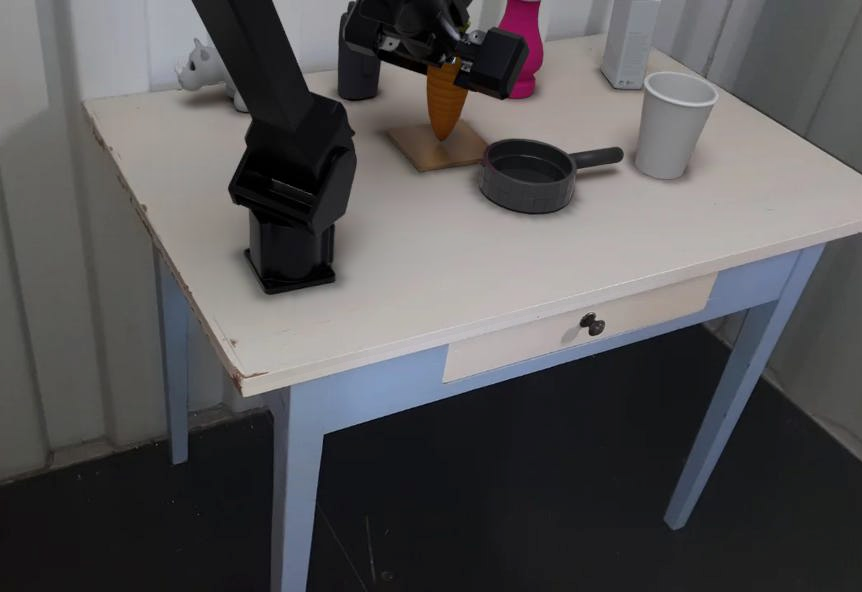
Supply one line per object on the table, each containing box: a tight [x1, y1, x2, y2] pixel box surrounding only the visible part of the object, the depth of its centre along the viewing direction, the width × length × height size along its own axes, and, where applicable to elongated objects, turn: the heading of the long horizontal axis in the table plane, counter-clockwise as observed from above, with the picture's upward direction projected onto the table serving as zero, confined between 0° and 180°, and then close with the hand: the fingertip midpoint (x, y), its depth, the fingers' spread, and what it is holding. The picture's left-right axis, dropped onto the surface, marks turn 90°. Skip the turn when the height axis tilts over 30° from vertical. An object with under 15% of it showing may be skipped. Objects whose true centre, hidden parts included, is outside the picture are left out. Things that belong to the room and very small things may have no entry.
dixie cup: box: [634, 71, 720, 180], centre depth 104 cm, size 8×8×10 cm
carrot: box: [425, 19, 472, 142], centre depth 99 cm, size 5×5×15 cm
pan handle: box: [567, 146, 625, 170], centre depth 101 cm, size 8×2×2 cm, turn 119°
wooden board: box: [384, 119, 490, 173], centre depth 104 cm, size 10×9×1 cm
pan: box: [478, 137, 578, 214], centre depth 98 cm, size 10×10×4 cm
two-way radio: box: [337, 0, 382, 100], centre depth 107 cm, size 6×4×15 cm
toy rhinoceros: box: [173, 37, 249, 113], centre depth 103 cm, size 7×12×8 cm, turn 117°
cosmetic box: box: [600, 0, 662, 90], centre depth 122 cm, size 6×4×12 cm
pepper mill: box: [496, 0, 544, 99], centre depth 113 cm, size 7×7×20 cm
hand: (454, 80), depth 101 cm, fingers closed on carrot, 5 cm apart
